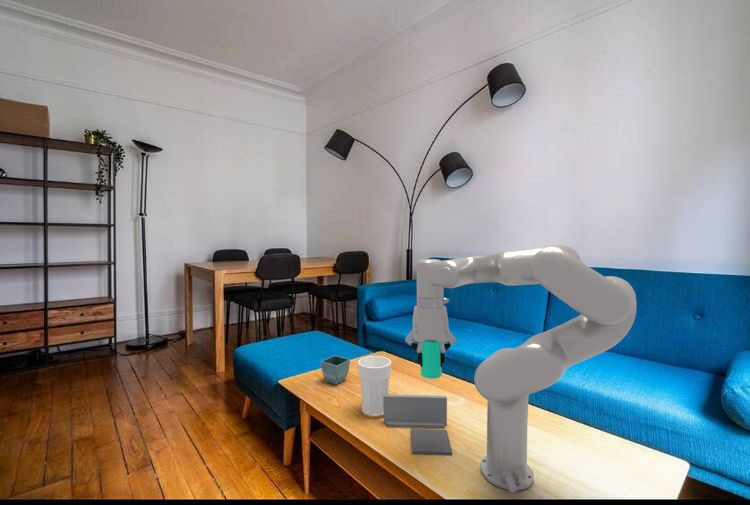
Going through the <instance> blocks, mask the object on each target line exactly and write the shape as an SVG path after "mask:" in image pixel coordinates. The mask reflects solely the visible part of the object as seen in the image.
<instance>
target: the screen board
mask: <svg viewBox="0 0 750 505" xmlns="http://www.w3.org/2000/svg"><path fill="white" fill-rule="evenodd" d="M383 408H384V416H383V425H386V428H406V429H407V428H410V429H438V428H439V429H438V430H445V426H444V425H447V426H448V398H447V395H436V394H435V395H433V394H431V395H429V394H395V393H393V394H392V393H391V394H389V393H388V394H384V396H383ZM441 428H443V429H441Z"/></svg>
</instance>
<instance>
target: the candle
mask: <svg viewBox="0 0 750 505" xmlns="http://www.w3.org/2000/svg"><path fill="white" fill-rule="evenodd" d="M421 353H422V367H420V375H421V377H422V378H424V379H431V380H434V379H435V380H436V379H439V378H441V377H442V376H443V369H442V368H443V366H442V367H441V362H440V353H441V348H440V342H439V341H437V342H427V341H424V342H423V343H422V349H421Z"/></svg>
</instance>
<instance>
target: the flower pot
mask: <svg viewBox="0 0 750 505" xmlns="http://www.w3.org/2000/svg"><path fill="white" fill-rule="evenodd" d="M350 362H351V359H349V358H346V357H342V356H338V355H332V356H330V357H327V358H326V359H323V360H321V361H320V365H321V372H322V373H321V374H322V376H323V378H324V379H325V381H326V382H327V383H329V382H330V384H332V383H333V385H336V384H337V385H339V384H341V383H342V382H344V381H345V380H346V378H347V375H349V374H348V373H349V370H350V364H351V363H350ZM343 380H344V381H343ZM341 381H342V382H341ZM340 382H341V383H340ZM338 383H339V384H338Z"/></svg>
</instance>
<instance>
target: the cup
mask: <svg viewBox="0 0 750 505" xmlns="http://www.w3.org/2000/svg"><path fill="white" fill-rule="evenodd" d="M357 368H358V369H357V371H358V374H357V375H358V377H359V378H360V381H361V382H360V383H361V403H362V404H361V406H362V407H361V414H362V415H363V416H365V417H366V418H370V419H378V418H379V419H380V418H384V408H383V396H384V394H389V380H390V379H389V378H390V377H391V374H392V361H391V359H390V358H388V357H386V356H383V355H382V356H381V355H369V356H365V357H364V356H363V357H362V358H360V359H358V361H357Z"/></svg>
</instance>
